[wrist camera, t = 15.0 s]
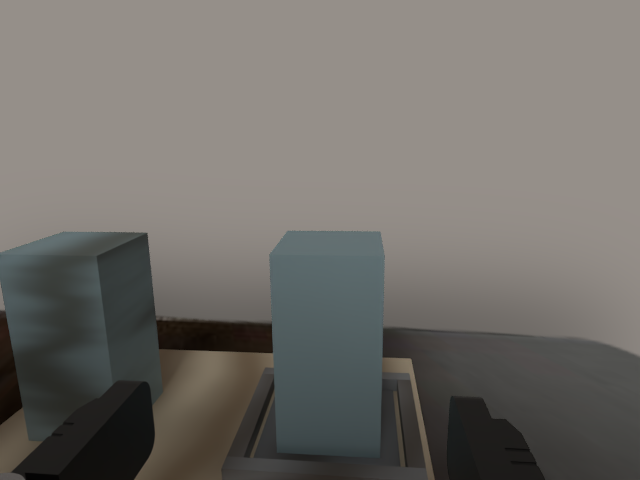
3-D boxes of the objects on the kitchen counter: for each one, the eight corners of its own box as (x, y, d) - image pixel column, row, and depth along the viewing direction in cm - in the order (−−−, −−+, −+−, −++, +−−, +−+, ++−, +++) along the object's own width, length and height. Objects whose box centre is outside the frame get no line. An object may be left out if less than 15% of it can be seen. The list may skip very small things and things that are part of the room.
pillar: (276, 452, 22) (269, 254, 20) (292, 395, 27) (287, 230, 25) (380, 458, 22) (384, 256, 20) (377, 399, 27) (380, 231, 24)
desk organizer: (-117, 555, 19) (-190, 292, 16) (100, 365, 35) (80, 214, 32) (450, 605, 17) (470, 310, 14) (410, 378, 32) (416, 217, 30)
